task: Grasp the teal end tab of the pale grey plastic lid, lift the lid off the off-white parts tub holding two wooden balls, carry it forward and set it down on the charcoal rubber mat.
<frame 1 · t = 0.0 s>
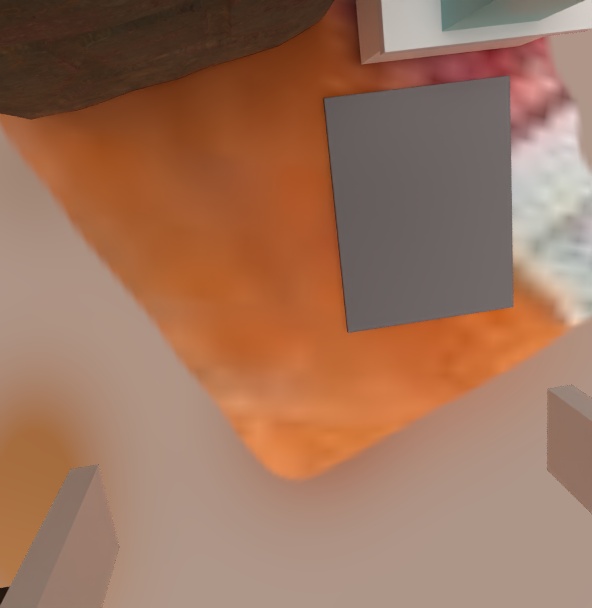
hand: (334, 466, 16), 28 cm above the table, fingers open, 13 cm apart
mat: (423, 209, 43), on the table
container: (153, 9, 37), on the table
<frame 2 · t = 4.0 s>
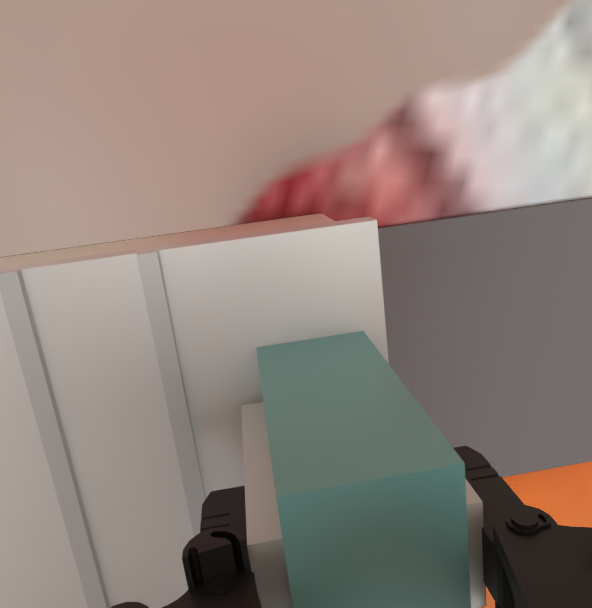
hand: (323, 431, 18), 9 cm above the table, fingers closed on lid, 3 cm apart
tub: (167, 364, 26), on the table
lid: (145, 437, 19), point 7 cm above the table, touching gripper, tub
mat: (552, 342, 28), on the table
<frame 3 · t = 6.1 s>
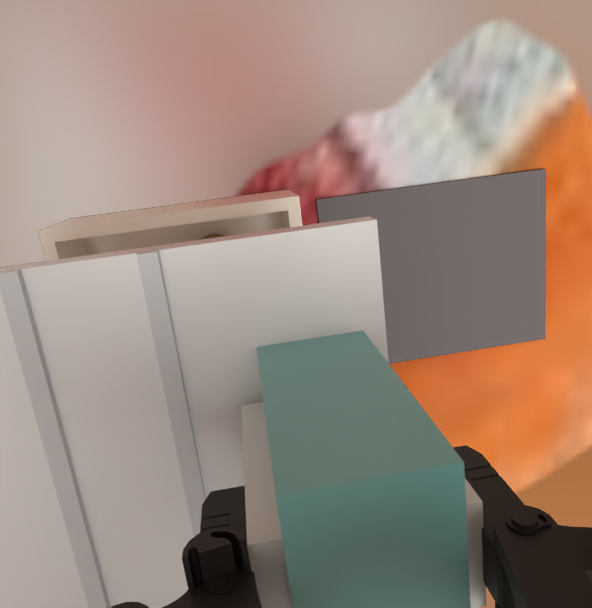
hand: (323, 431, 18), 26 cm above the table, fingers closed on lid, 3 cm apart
tub: (195, 282, 42), on the table
lid: (145, 437, 19), point 24 cm above the table, touching gripper
mat: (435, 272, 44), on the table
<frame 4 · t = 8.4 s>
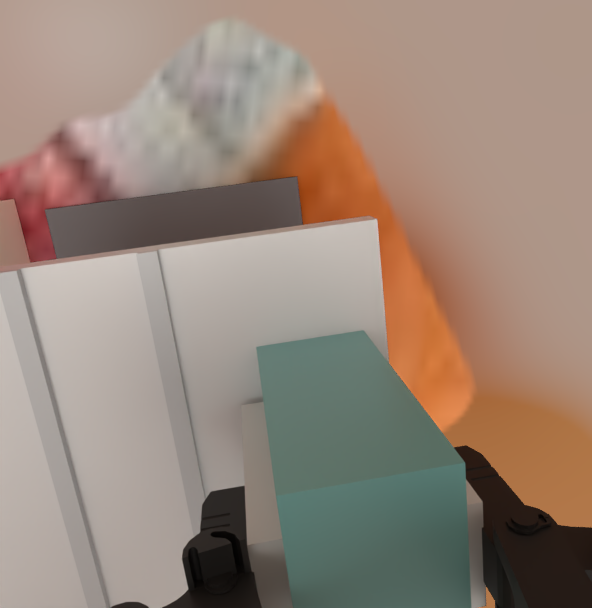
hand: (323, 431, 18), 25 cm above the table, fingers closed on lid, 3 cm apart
lid: (144, 437, 19), point 23 cm above the table, touching gripper
mat: (190, 285, 41), on the table
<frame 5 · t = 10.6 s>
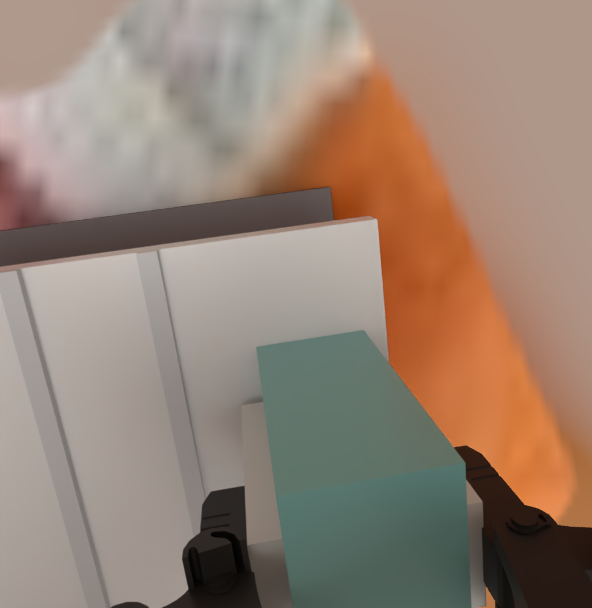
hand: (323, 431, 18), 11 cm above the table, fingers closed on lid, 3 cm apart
lid: (144, 437, 19), point 9 cm above the table, touching gripper
mat: (168, 350, 28), on the table
when the fingers open (4 cm above the table, at t = 12.7 s): lid drops 2 cm, resting on mat.
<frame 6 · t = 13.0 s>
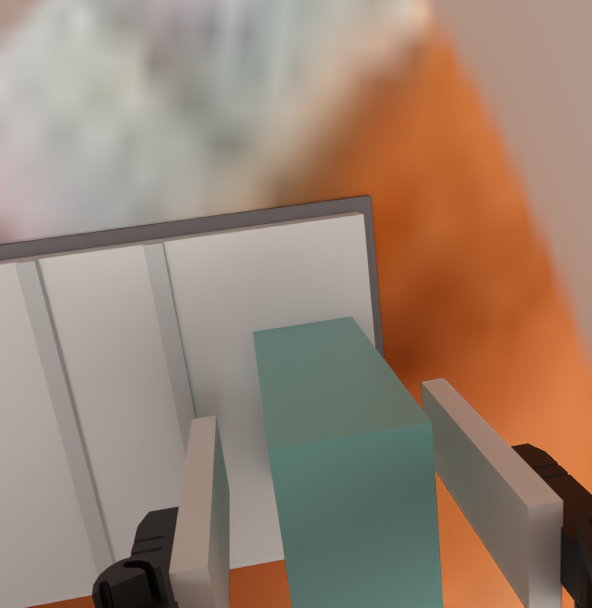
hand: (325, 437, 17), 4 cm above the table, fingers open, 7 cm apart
lid: (150, 416, 20), resting on mat
mat: (152, 412, 21), on the table
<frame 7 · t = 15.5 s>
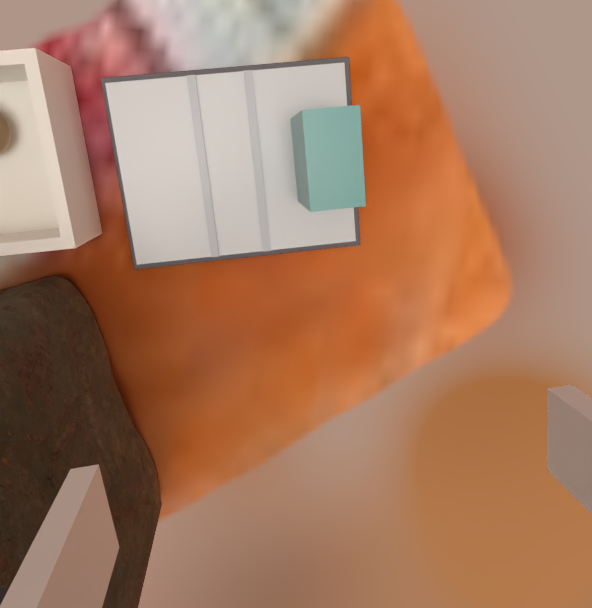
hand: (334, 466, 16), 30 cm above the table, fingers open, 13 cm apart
lid: (237, 166, 41), resting on mat
mat: (238, 166, 42), on the table
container: (74, 404, 46), on the table
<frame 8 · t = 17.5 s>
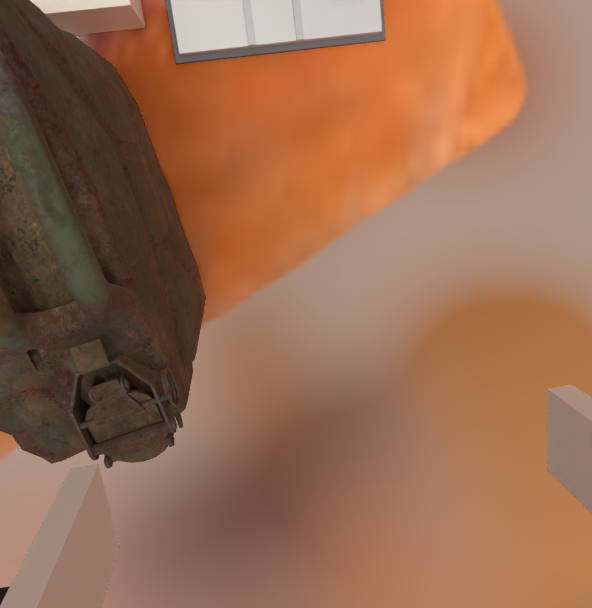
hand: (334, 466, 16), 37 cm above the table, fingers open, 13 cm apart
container: (120, 205, 49), on the table
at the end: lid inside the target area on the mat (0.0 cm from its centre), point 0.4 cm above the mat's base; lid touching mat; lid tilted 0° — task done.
